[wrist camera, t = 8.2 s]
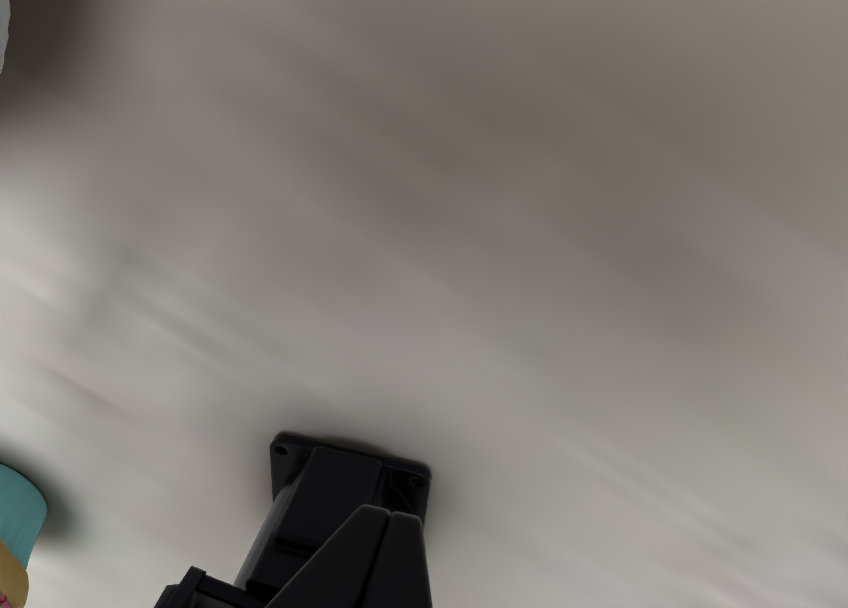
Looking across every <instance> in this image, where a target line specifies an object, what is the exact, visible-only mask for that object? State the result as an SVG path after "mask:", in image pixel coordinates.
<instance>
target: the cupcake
mask: <svg viewBox="0 0 848 608" xmlns="http://www.w3.org/2000/svg"><path fill="white" fill-rule="evenodd" d="M46 516H47V504H46V502H45V499H44V498H43V496H42V494H41V493H40V492H39V490H38V489H37V488H36V487H35V486H34V485H33V484H32V483H31V482H30V481H29V480H27V479H26V478H25V477H23V476H22V475H21V474H19V473H18V472H16V471H14V470H12V469H11V468H9V467H7V466H4V465H2V464H0V608H23V607H24V605H25V603H26V600H27V595H28V589H29V581H28V575H27V572H26V569H27V565H28V561H29V558H30V554H31V551H32V549H33V546H34V543H35V541H36V539H37V536H38V534H39V532H40V529H41V527H42V525H43V523H44V521H45V519H46Z"/></svg>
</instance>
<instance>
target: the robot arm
mask: <svg viewBox="0 0 848 608" xmlns="http://www.w3.org/2000/svg"><path fill="white" fill-rule="evenodd" d="M270 461H271V477H272V494H273V505H272V507H271V509H270V511H269V513H268V515H267V517H266V519H265V521H264V523H263V525H262V527H261V529H260V531H259V533H258V535H257V537H256V539H255V541H254V543H253V545H252V547H251V549H250V551H249V553H248V555H247V557H246V559H245V561H244V563H243V565H242V567H241V569H240V571H239V573H238V576H237V578H236V580H235V582H234V584H233V585H231V584H228V583H226V582H223V581H221V580H218V579H216V578H213V577H211V576H208V575H206V571H204V570H201V569H199V568H196V567H194V566H191V567H190V569H189V570H188V572H187V573H186V575H185V576H184V578H183V579H182V581H181V582H180V584H174V585H167V586H166V588H165V590H164V591H163V593H162V595H161V596H160V598H159V600H158V601H157V603H156V605H155V607H154V608H433V607H432V599H431V591H430V583H429V576H428V568H427V560H426V552H425V544H424V537H423V532H424V525H425V519H426V512H427V506H428V499H429V493H430V486H431V480H432V475H431V473H430V471H429V470H427V469H426V468H424V467H422V466H418V465H414V464H409V463H405V462H401V461H397V460H392V459H388V458H384V457H379V456H375V455H371V454H366V453H362V452H358V451H353V450H349V449H345V448H341V447H336V446H332V445H328V444H323V443H319V442H315V441H310V440H306V439H302V438H297V437H293V436H289V435H283V434H280V435H277V436H276V437H274V439H273V441H272V443H271V445H270ZM417 478H419V479H417Z"/></svg>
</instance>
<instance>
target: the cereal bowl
mask: <svg viewBox="0 0 848 608" xmlns="http://www.w3.org/2000/svg"><path fill="white" fill-rule="evenodd" d="M10 16H11V13H10V2H9V0H0V74H1V71H2V68H3V64H4V53H5V50H6V46H7V41H8V39H9V35H8V26H9V20H10Z"/></svg>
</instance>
